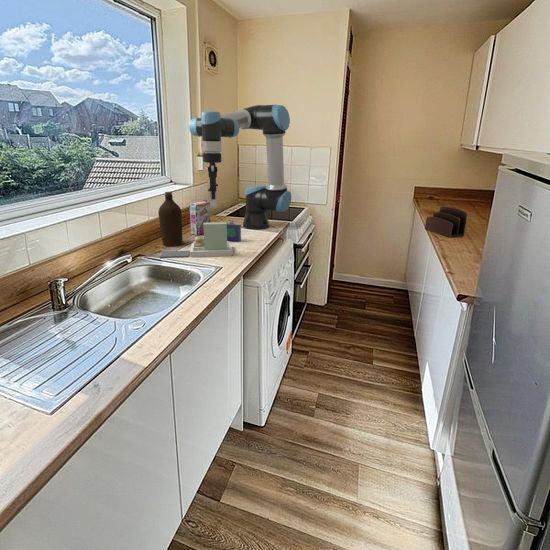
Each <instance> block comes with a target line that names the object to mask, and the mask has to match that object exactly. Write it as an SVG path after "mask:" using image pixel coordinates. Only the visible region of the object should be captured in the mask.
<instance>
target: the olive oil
mask: <svg viewBox="0 0 550 550" xmlns="http://www.w3.org/2000/svg"><path fill="white" fill-rule="evenodd" d="M173 197H174V196H173V192H172V191H165V192H164V199H165V200H163V203H162V204H161V205H160V206H159V208H158V219H159V225H160V226H159V228H160V236H161V240H162V246H164V247H177V246H182V245H183V242H184V241H183V214H182V209H181V207H180V205H179V204H178V203H176V202H175V201H174V198H173Z"/></svg>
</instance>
